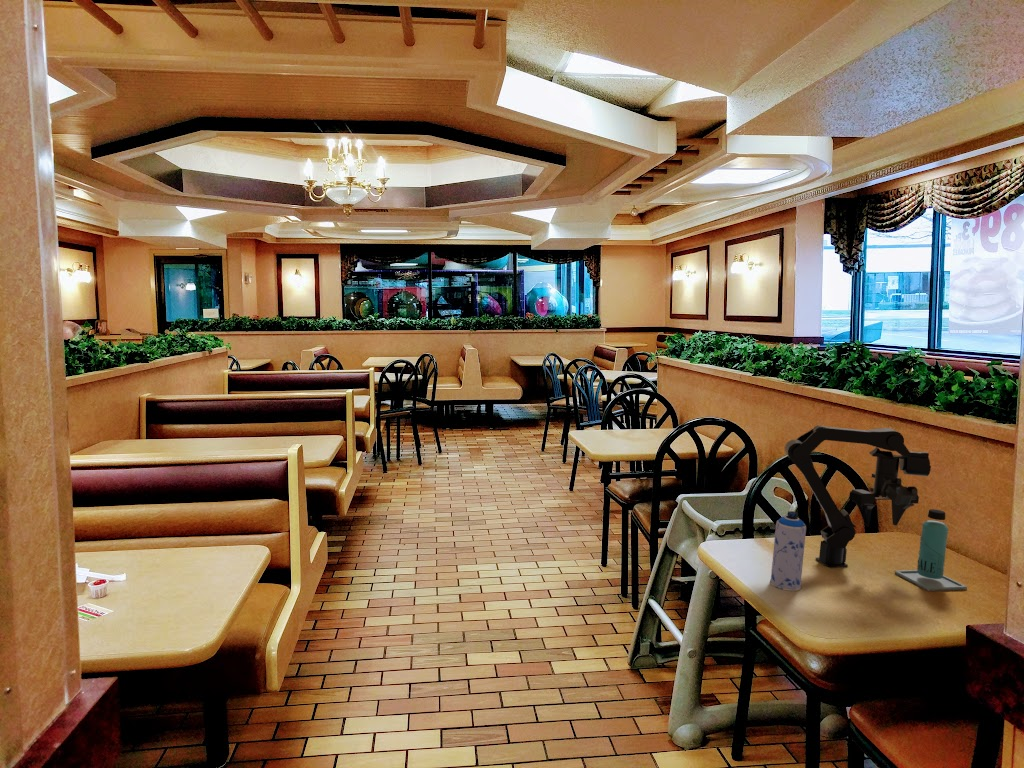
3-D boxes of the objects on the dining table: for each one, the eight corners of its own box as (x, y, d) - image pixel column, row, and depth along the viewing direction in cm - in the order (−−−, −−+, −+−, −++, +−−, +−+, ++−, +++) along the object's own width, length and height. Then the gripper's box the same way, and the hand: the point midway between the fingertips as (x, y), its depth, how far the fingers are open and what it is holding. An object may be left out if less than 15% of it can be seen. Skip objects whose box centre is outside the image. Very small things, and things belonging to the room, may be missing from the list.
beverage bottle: (940, 578, 192) (949, 509, 190) (944, 586, 186) (953, 515, 184) (914, 573, 195) (922, 505, 193) (917, 581, 189) (925, 511, 187)
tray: (928, 591, 184) (928, 587, 183) (894, 573, 195) (895, 570, 195) (966, 589, 186) (967, 586, 186) (931, 572, 198) (931, 569, 198)
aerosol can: (787, 578, 188) (794, 507, 186) (807, 589, 181) (815, 515, 179) (763, 580, 186) (770, 508, 183) (783, 591, 178) (790, 517, 176)
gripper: (878, 479, 186) (872, 535, 188) (937, 479, 190) (930, 534, 191) (850, 469, 197) (845, 522, 198) (906, 470, 200) (901, 521, 202)
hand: (880, 525), depth 197 cm, fingers open, 9 cm apart
